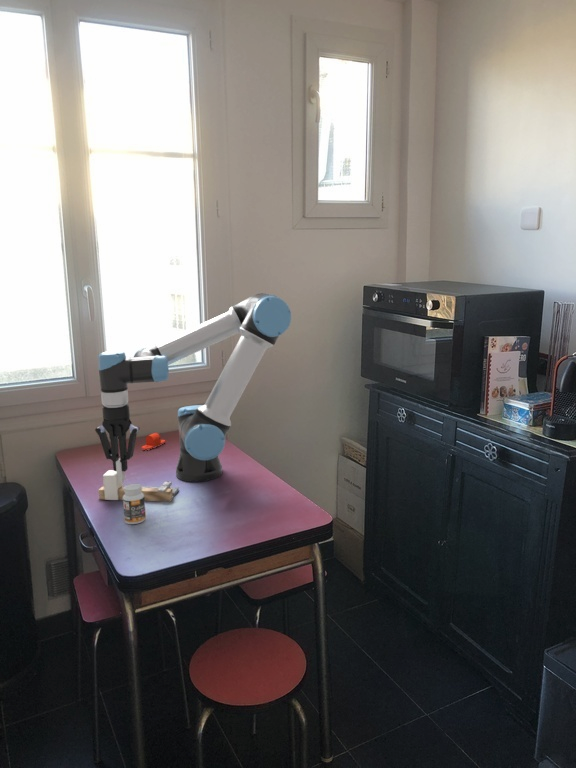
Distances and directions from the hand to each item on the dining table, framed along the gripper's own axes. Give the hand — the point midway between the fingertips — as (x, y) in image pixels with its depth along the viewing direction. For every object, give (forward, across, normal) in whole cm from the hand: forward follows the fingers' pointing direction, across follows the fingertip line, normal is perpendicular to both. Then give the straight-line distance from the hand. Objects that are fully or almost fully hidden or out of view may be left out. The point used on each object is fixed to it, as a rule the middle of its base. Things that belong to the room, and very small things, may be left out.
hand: (121, 481), depth 186 cm
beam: (+6, -4, 0) cm, 7 cm away
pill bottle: (+6, -10, +15) cm, 19 cm away
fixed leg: (+4, -13, -2) cm, 13 cm away
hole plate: (+6, -4, -5) cm, 9 cm away
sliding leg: (+5, +3, -2) cm, 6 cm away
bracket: (+6, +8, -50) cm, 51 cm away
